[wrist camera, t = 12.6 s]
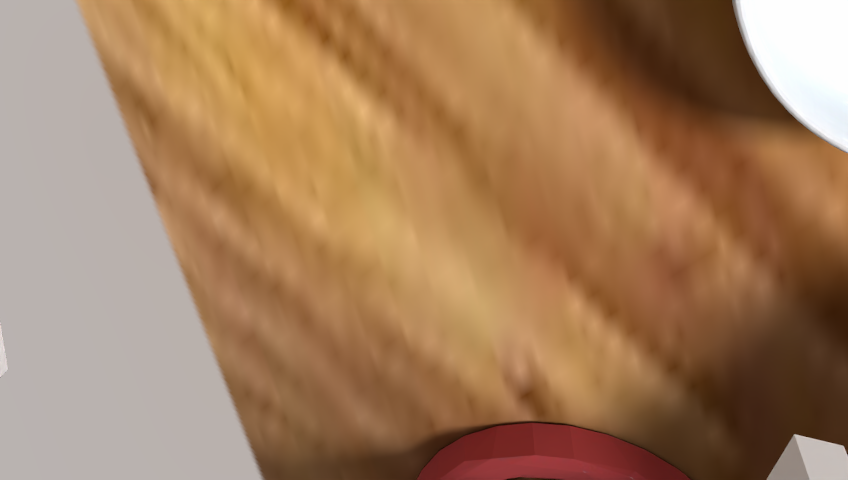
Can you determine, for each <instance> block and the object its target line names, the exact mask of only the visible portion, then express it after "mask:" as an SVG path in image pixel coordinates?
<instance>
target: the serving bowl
mask: <svg viewBox="0 0 848 480" xmlns="http://www.w3.org/2000/svg"><path fill="white" fill-rule="evenodd" d="M732 3H733V8H734V13H735V16H736V20H737V23H738V27H739V30H740V33H741V36H742V39H743V41H744V44H745V47H746V49H747V51H748V53H749V56H750V58H751V60H752V61H753V63H754V65H755V67H756V69H757V71H758V73H759V74H760V76H761V78H762V79H763V81H764V82H765V84H766V85H767V87H768V88H769V90H770V91H771V92H772V94H773V95H774V96H775V97H776V98H777V100H778V101H779V102H780V103H781V104H782V105H783V106H784V107H785V109H786V110H787V111H788V112H789V113H790V114H791V115H792V116H793V117H794V118H795V119H796V120H798V121H799V122H800V123H801V124H802V125H804V126H805V127H806V128H807V129H809V130H810V131H812V132H813V133H814V134H816V135H817V136H818V137H820V138H821V139H823V140H825V141H826V142H828V143H829V144H831V145H833V146H834V147H836V148H838V149H840V150H842V151H844V152H846V153H848V0H732Z"/></svg>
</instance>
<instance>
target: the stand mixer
mask: <svg viewBox="0 0 848 480" xmlns="http://www.w3.org/2000/svg"><path fill="white" fill-rule="evenodd" d="M517 477H527V478H546V479H564V480H691V479H690V478H688V477H687V476H686V475H685V474H684V473H682V472H681V471H680V470H679V469H677V468H675V467H674V466H672V465H670V464H669V463H667V462H665V461H664V460H662V459H660V458H658V457H657V456H655V455H653V454H652V453H650V452H648V451H646V450H645V449H642V448H640V447H637V446H635V445H632V444H630V443H627V442H625V441H622V440H620V439H617V438H615V437H612V436H610V435H607V434H603V433H598V432H594V431H590V430H586V429H582V428H577V427H573V426H567V425H554V424H541V423H525V424H514V425H503V426H496V427H492V428H489V429H486V430H482V431H479V432H476V433H472V434H469V435H465V436H463V437H462V438H460V439H458V440H457V441H455V442H453V443H452V444H450V445H448V446H447V447H445V448H443V449H441V450H440V451H439V452H438V453H437V454H436V455H435V456H434V457H433V458H432V459H431V460H430V462H429V463H428V464H427V465H426V466H425V467H424V468H423V469H422V471H421V472H420V474H419V476H418V478H417V480H505V479H510V478H517Z"/></svg>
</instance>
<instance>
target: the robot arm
mask: <svg viewBox="0 0 848 480" xmlns="http://www.w3.org/2000/svg"><path fill="white" fill-rule="evenodd" d="M7 370H8V367H7V361H6V354H5V348H4V342H3V336H2V330H1V324H0V377H1V376H2V375H3V374H4V373H5V372H6V371H7ZM766 480H848V455H847V453H846V450H845V448H844V446H842V445H838V444H834V443H830V442H825V441H821V440H817V439H813V438H809V437H804V436H800V435H796V434H794V435H793V437H792V439H791V440H790V442H789V443H788V445H787V447H786V448H785V450H784V452H783V453H782V455H781V457H780V458H779V460H778V461H777V463H776V465H775V466H774V468H773V470H772V471H771V473H770V475H769V476H768V478H767V479H766Z"/></svg>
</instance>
